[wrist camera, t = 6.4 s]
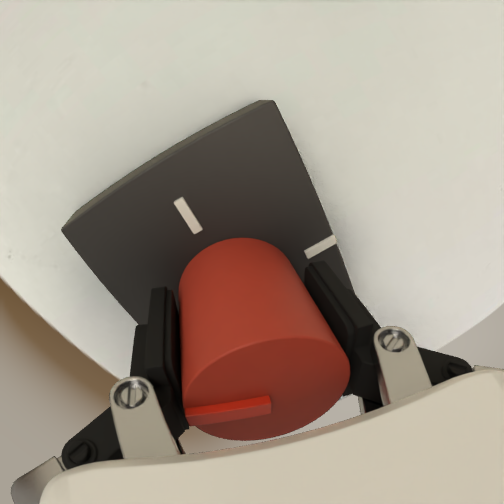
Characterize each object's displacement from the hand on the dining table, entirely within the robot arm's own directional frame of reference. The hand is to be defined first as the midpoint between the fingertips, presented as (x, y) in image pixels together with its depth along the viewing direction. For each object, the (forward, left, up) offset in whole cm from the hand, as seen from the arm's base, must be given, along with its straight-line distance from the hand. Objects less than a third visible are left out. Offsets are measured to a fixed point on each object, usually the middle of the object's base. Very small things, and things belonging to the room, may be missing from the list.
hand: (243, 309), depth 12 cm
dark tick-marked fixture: (0, 0, -3) cm, 3 cm away
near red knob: (0, 0, -1) cm, 1 cm away
